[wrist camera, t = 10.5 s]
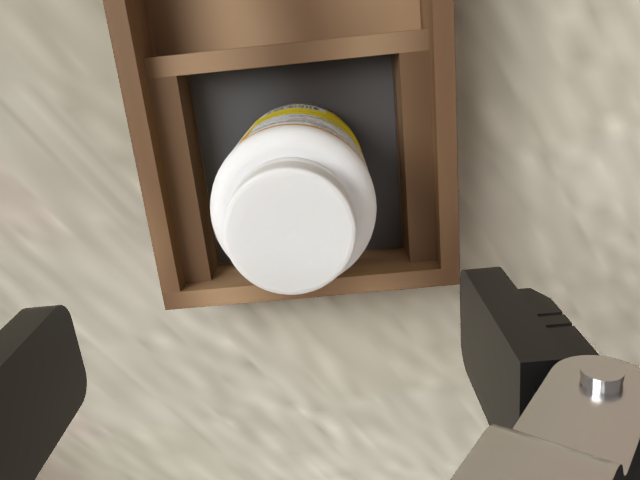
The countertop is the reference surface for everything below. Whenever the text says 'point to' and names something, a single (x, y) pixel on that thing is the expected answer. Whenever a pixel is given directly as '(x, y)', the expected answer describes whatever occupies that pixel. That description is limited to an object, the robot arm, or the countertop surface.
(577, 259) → the countertop surface
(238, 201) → the supplement bottle
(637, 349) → the countertop surface
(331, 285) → the walnut crate
